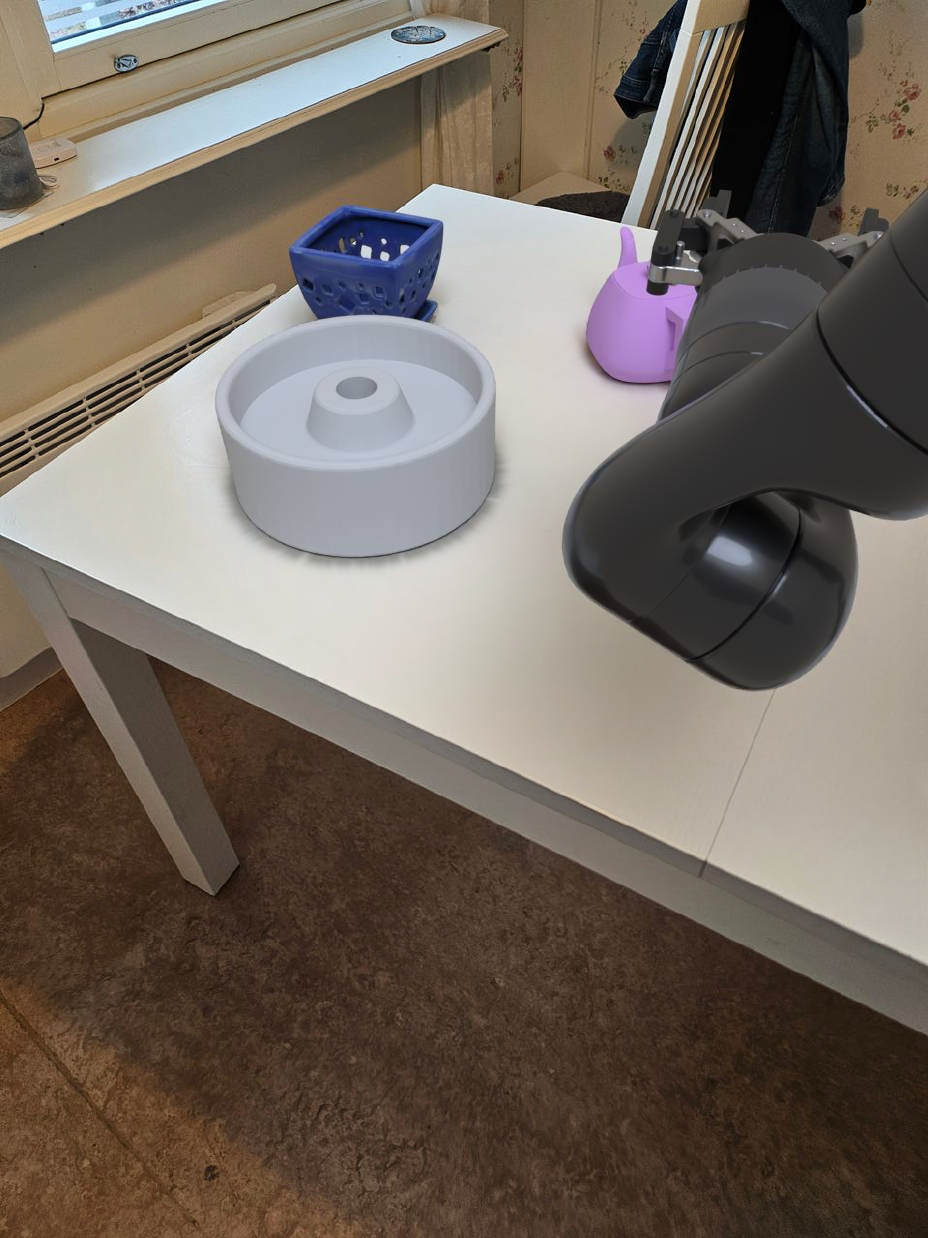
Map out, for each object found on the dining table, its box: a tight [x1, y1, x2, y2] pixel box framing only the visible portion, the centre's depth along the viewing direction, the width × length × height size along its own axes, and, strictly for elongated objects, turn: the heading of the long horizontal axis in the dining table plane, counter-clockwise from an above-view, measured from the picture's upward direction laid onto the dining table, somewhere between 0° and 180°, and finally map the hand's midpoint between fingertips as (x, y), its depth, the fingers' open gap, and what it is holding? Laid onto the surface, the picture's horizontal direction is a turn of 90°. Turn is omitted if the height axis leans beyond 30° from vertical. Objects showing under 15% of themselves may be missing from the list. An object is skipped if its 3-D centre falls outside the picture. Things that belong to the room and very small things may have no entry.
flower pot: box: [288, 204, 444, 322], centre depth 99 cm, size 13×13×12 cm
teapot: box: [585, 225, 697, 384], centre depth 95 cm, size 13×20×11 cm
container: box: [214, 315, 497, 558], centre depth 81 cm, size 25×25×10 cm
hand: (793, 215), depth 53 cm, fingers open, 8 cm apart
